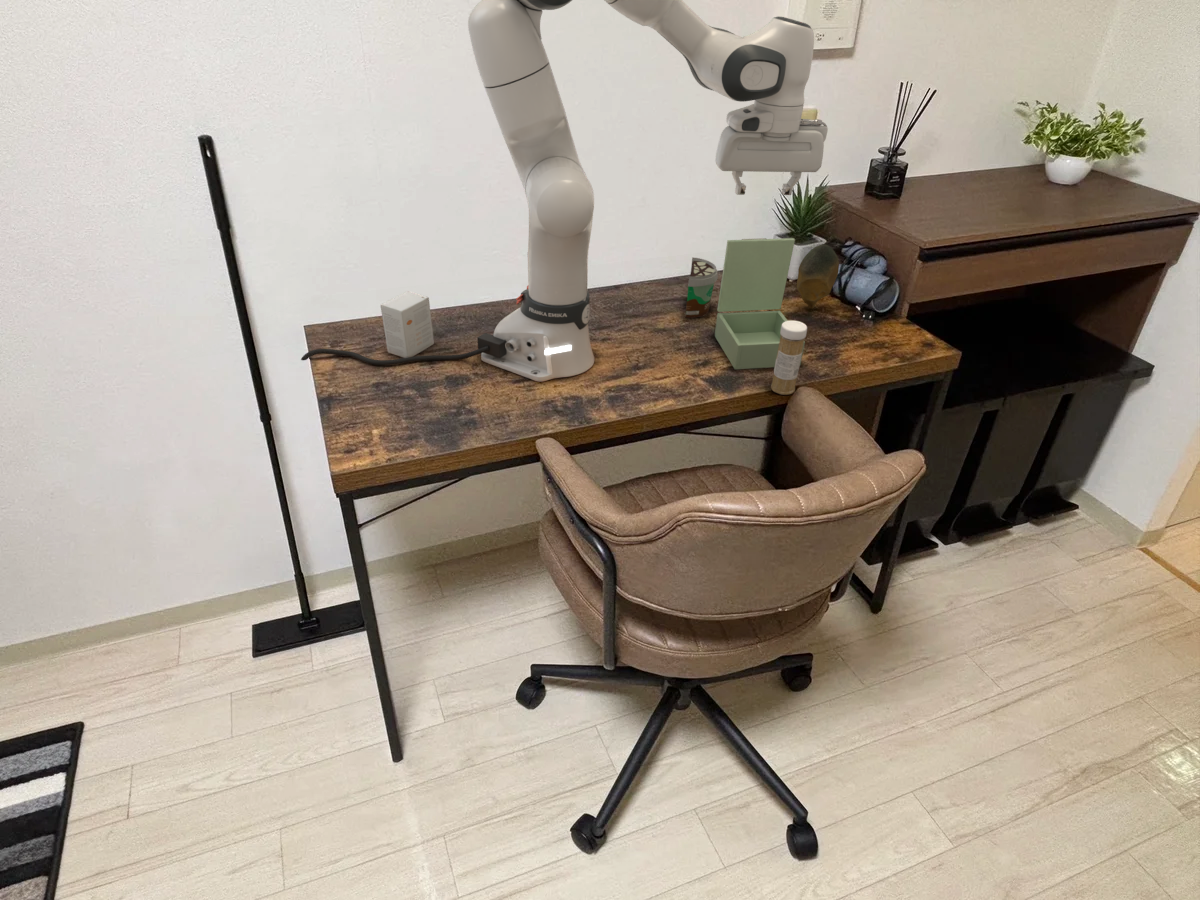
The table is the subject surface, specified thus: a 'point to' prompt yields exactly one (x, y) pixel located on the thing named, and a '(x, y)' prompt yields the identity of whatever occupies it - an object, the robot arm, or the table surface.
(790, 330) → the sprinkles bottle
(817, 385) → the table surface
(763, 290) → the lid
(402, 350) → the small box
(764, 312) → the chest
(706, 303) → the food container
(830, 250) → the decorative stone
